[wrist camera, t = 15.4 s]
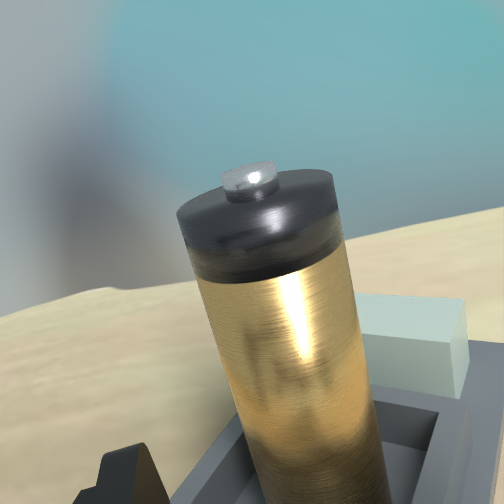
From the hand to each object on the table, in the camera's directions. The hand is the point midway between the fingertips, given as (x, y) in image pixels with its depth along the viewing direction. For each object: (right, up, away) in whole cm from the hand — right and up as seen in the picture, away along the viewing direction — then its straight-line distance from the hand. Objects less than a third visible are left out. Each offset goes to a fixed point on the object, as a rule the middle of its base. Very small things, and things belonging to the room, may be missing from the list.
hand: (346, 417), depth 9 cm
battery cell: (+1, -8, +11) cm, 13 cm away
